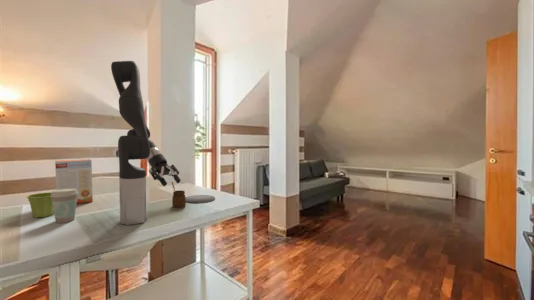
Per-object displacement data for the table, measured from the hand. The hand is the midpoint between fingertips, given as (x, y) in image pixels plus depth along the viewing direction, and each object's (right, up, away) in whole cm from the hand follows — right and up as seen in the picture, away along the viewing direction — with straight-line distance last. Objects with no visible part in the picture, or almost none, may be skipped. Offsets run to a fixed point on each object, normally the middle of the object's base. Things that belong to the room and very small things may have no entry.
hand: (172, 183), depth 127 cm
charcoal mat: (+10, -10, +13) cm, 19 cm away
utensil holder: (+3, -11, -1) cm, 11 cm away
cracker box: (-48, -10, +2) cm, 49 cm away
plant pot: (-46, -11, -19) cm, 51 cm away
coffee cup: (-33, -12, -24) cm, 43 cm away
